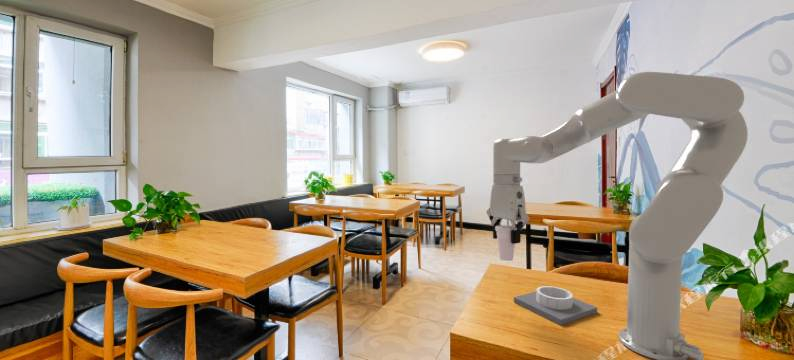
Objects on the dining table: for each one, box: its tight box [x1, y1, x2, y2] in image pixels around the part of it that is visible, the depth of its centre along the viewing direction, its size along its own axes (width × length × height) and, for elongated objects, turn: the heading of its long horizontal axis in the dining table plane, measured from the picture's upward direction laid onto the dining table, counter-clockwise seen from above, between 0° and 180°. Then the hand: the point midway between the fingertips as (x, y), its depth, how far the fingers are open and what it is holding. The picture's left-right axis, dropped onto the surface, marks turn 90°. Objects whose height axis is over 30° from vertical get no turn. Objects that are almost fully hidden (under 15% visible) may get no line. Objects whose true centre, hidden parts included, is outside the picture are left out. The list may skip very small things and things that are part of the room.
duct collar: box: [513, 285, 598, 326], centre depth 93 cm, size 16×16×4 cm
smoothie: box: [495, 219, 516, 262], centre depth 93 cm, size 6×6×14 cm
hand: (506, 240), depth 93 cm, fingers closed on smoothie, 6 cm apart
